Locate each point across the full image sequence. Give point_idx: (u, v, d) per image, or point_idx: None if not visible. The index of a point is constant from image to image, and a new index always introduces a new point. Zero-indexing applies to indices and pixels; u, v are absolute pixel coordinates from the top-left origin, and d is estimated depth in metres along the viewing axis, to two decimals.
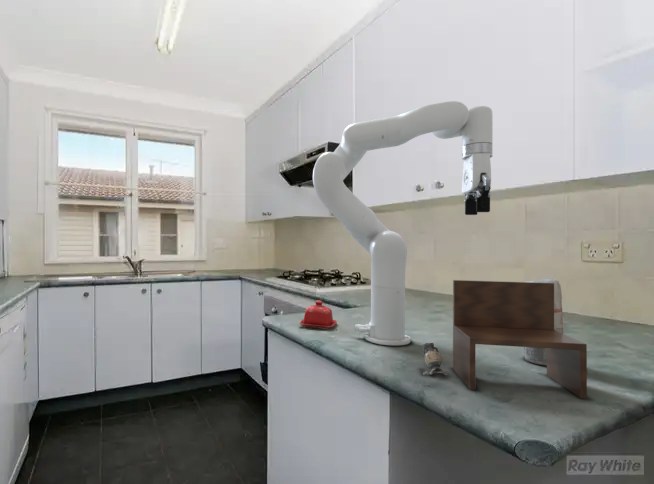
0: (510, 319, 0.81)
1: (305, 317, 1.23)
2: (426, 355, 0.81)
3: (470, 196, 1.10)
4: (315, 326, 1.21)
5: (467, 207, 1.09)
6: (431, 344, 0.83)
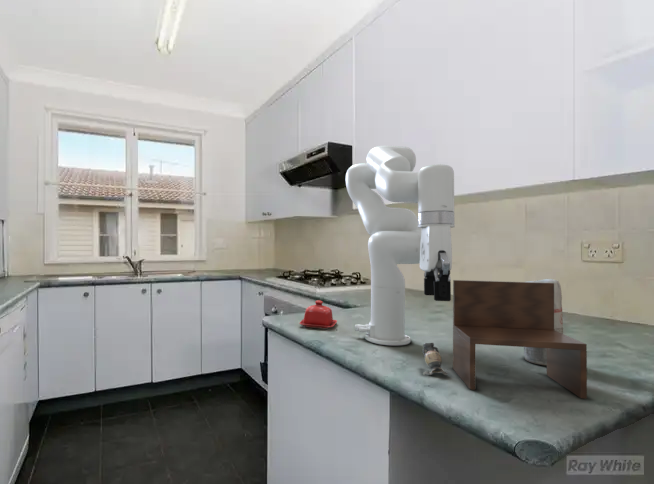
0: (510, 319, 0.81)
1: (305, 317, 1.23)
2: (426, 355, 0.81)
3: (430, 271, 0.88)
4: (315, 326, 1.21)
5: (426, 286, 0.87)
6: (431, 344, 0.83)
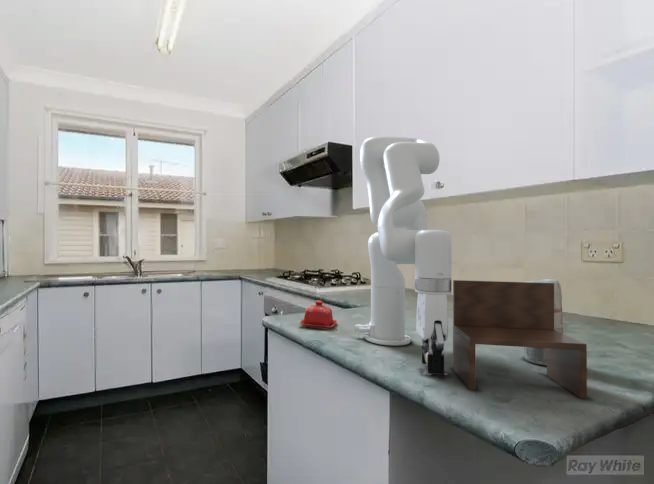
0: (510, 319, 0.81)
1: (305, 317, 1.23)
2: (426, 355, 0.81)
3: None
4: (315, 326, 1.21)
5: None
6: None
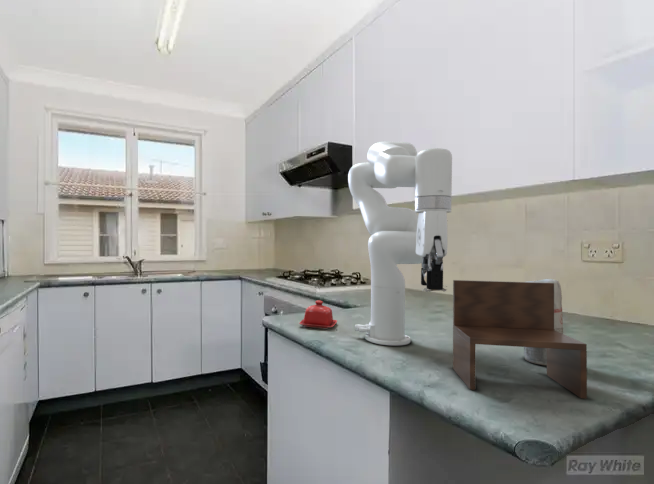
0: (510, 319, 0.81)
1: (305, 317, 1.23)
2: (425, 274, 0.82)
3: (428, 259, 0.86)
4: (315, 326, 1.21)
5: (423, 276, 0.86)
6: None
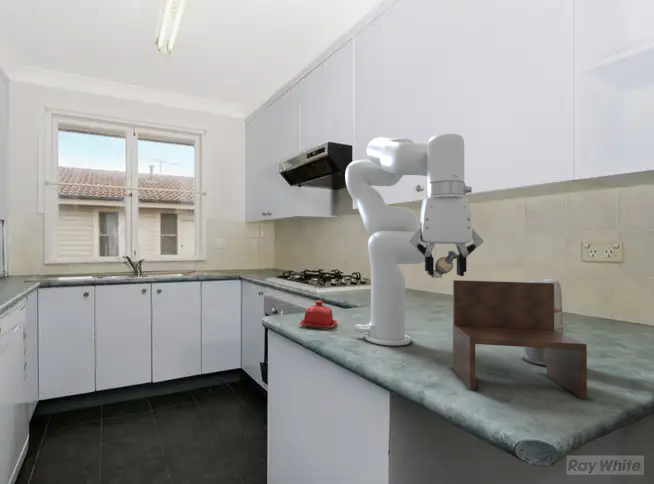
0: (510, 319, 0.81)
1: (305, 317, 1.23)
2: None
3: None
4: (315, 326, 1.21)
5: None
6: (449, 252, 0.81)
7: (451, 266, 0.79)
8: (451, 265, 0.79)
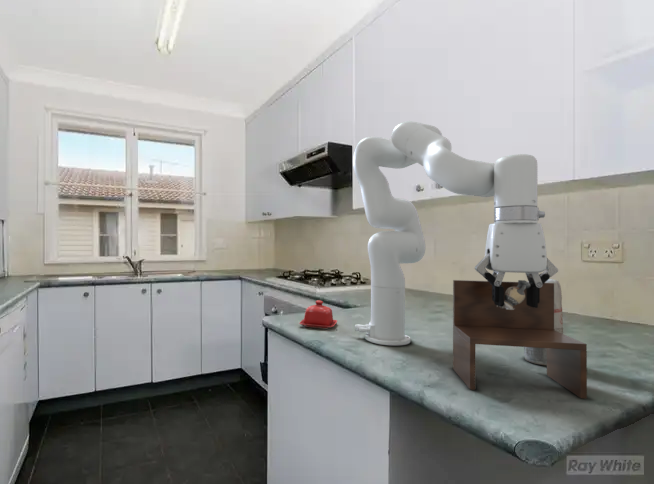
0: (510, 319, 0.81)
1: (305, 317, 1.23)
2: None
3: None
4: (315, 326, 1.21)
5: (527, 295, 0.76)
6: (520, 281, 0.75)
7: (524, 297, 0.74)
8: (524, 296, 0.74)
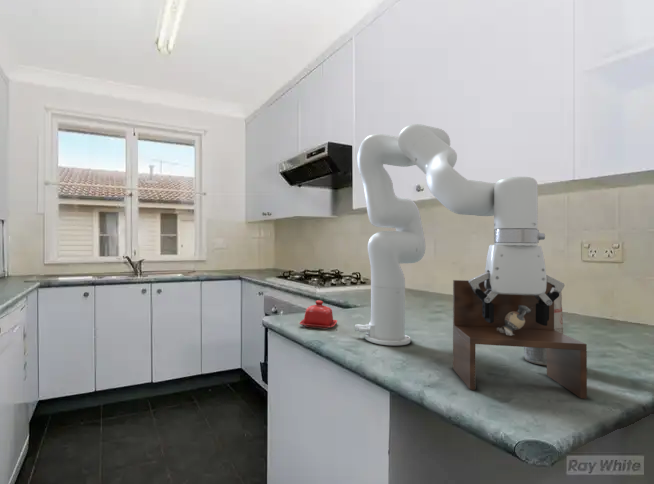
0: None
1: (305, 317, 1.23)
2: None
3: None
4: (315, 326, 1.21)
5: (536, 312, 0.76)
6: (520, 306, 0.75)
7: (524, 322, 0.74)
8: (524, 321, 0.74)
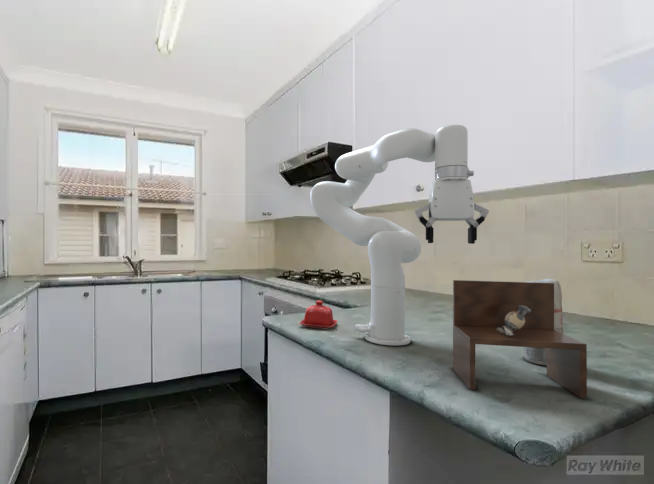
0: None
1: (305, 317, 1.23)
2: None
3: None
4: (315, 326, 1.21)
5: (468, 235, 0.94)
6: (520, 306, 0.75)
7: (524, 322, 0.74)
8: (524, 321, 0.74)
